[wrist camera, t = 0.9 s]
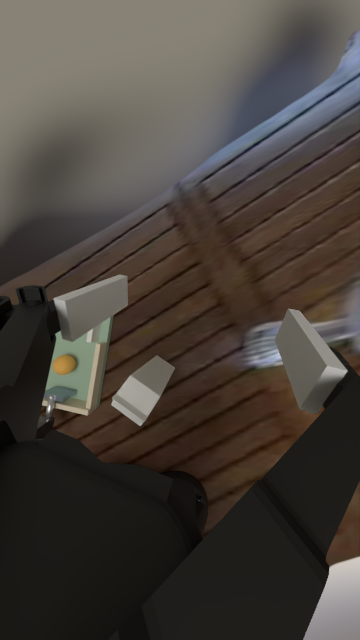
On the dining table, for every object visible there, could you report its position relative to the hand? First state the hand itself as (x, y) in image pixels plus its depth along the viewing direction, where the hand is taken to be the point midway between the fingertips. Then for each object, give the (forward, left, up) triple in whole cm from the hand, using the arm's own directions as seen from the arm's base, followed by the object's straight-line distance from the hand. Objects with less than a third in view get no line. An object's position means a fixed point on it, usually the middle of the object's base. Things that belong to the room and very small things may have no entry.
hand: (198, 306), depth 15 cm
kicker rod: (-29, +32, -31) cm, 53 cm away
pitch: (-15, +32, -32) cm, 48 cm away
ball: (-17, +32, -28) cm, 46 cm away
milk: (-15, +8, -33) cm, 37 cm away
